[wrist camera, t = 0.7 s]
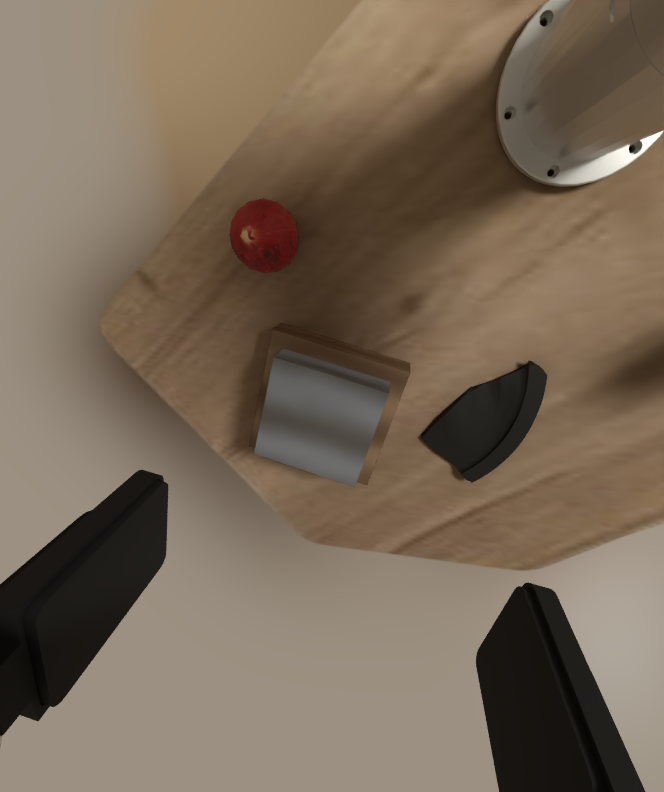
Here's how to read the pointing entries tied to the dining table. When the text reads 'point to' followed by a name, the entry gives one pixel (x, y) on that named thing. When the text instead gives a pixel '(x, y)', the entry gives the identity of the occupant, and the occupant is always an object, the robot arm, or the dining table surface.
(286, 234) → the onion
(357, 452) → the wood and metal stack
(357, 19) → the dining table surface
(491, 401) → the curved wedge
